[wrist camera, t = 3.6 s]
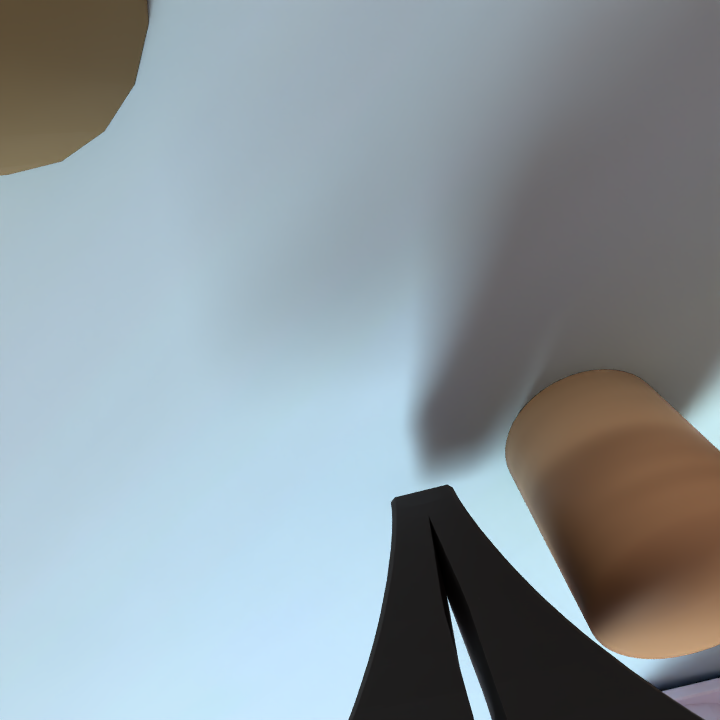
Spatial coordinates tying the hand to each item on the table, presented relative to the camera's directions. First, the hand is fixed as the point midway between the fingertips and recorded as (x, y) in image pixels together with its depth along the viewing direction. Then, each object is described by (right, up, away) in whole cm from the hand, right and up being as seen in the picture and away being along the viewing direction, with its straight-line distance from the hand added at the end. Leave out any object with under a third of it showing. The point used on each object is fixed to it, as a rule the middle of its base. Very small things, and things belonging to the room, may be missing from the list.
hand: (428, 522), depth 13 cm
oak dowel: (+4, +2, +1) cm, 5 cm away
